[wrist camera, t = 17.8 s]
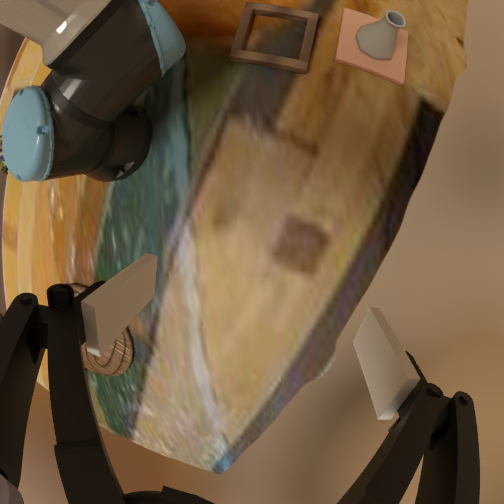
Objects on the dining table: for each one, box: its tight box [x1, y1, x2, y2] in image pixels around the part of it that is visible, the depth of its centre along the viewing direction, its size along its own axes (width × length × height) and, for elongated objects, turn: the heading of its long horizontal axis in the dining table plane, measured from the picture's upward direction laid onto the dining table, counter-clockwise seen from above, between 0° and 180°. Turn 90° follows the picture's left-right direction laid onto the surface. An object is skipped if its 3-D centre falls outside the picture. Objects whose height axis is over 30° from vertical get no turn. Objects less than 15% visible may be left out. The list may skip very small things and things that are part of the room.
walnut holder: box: [229, 2, 319, 74], centre depth 33 cm, size 12×12×2 cm
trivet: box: [67, 283, 134, 376], centre depth 54 cm, size 25×25×2 cm
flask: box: [355, 10, 406, 60], centre depth 27 cm, size 7×7×10 cm
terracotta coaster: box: [334, 7, 408, 85], centre depth 32 cm, size 12×12×1 cm
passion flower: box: [0, 134, 8, 175], centre depth 40 cm, size 11×11×12 cm
